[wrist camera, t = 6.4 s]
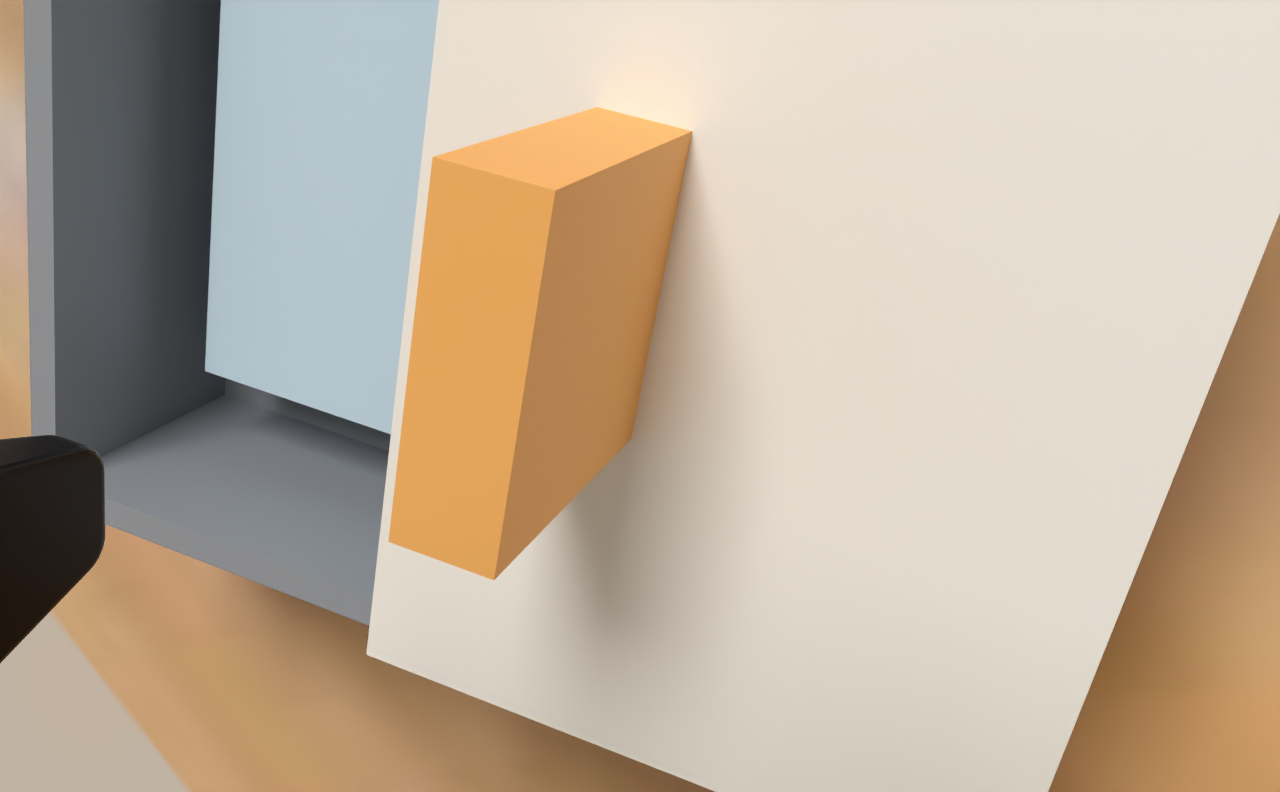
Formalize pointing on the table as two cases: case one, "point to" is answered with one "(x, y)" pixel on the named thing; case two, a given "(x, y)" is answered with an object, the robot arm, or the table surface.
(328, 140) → the carton
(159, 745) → the table surface
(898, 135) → the flap
